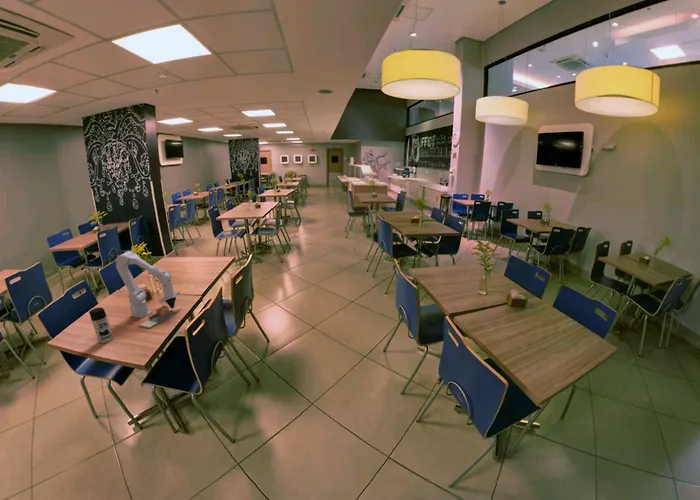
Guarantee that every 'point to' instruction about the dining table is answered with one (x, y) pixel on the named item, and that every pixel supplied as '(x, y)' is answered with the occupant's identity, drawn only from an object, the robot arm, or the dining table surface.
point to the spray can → (101, 325)
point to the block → (162, 310)
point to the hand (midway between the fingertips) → (172, 307)
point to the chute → (156, 319)
